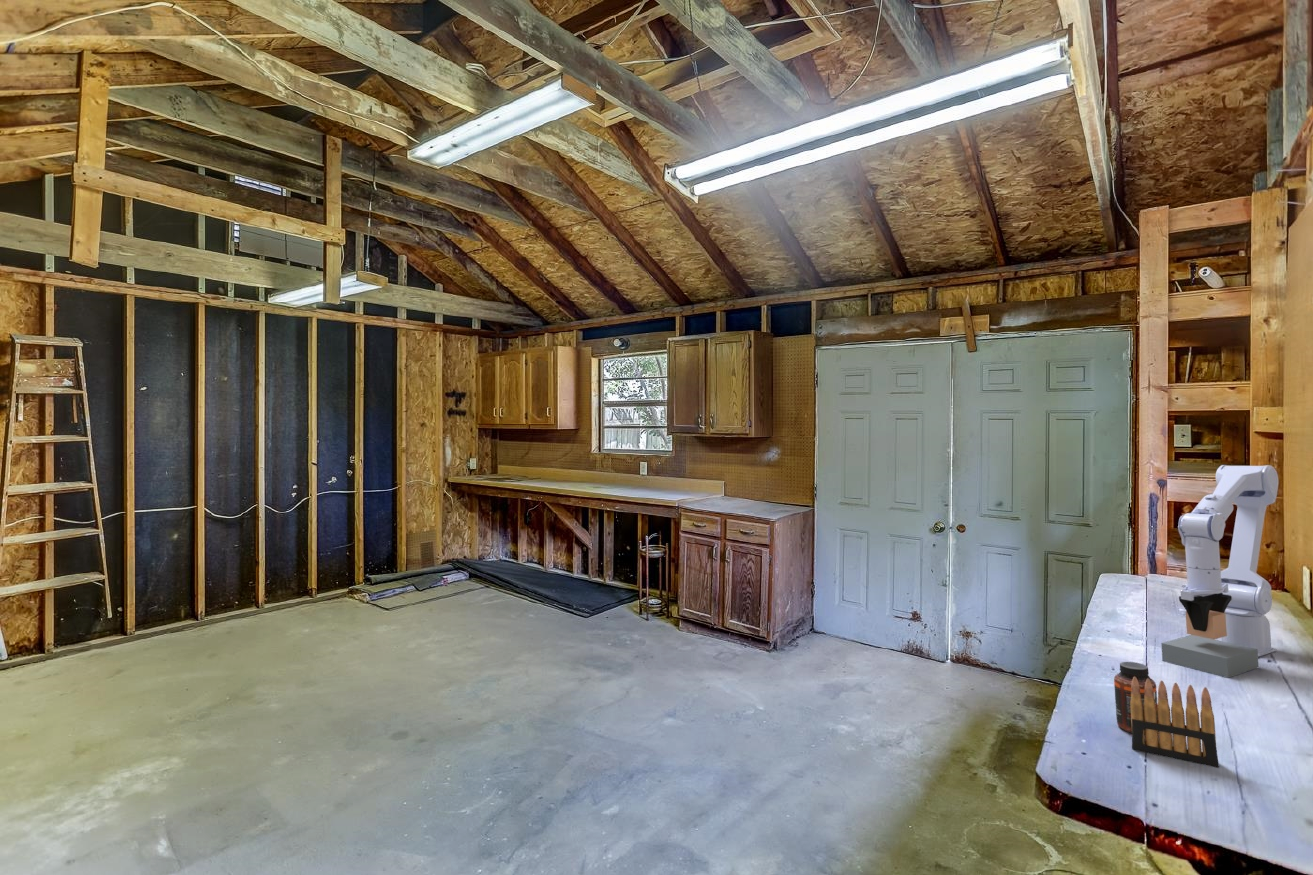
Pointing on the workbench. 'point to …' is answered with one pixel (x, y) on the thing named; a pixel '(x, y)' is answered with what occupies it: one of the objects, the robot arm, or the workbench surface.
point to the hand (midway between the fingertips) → (1207, 628)
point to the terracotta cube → (1210, 626)
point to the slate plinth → (1210, 655)
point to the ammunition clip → (1173, 725)
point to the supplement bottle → (1124, 691)
